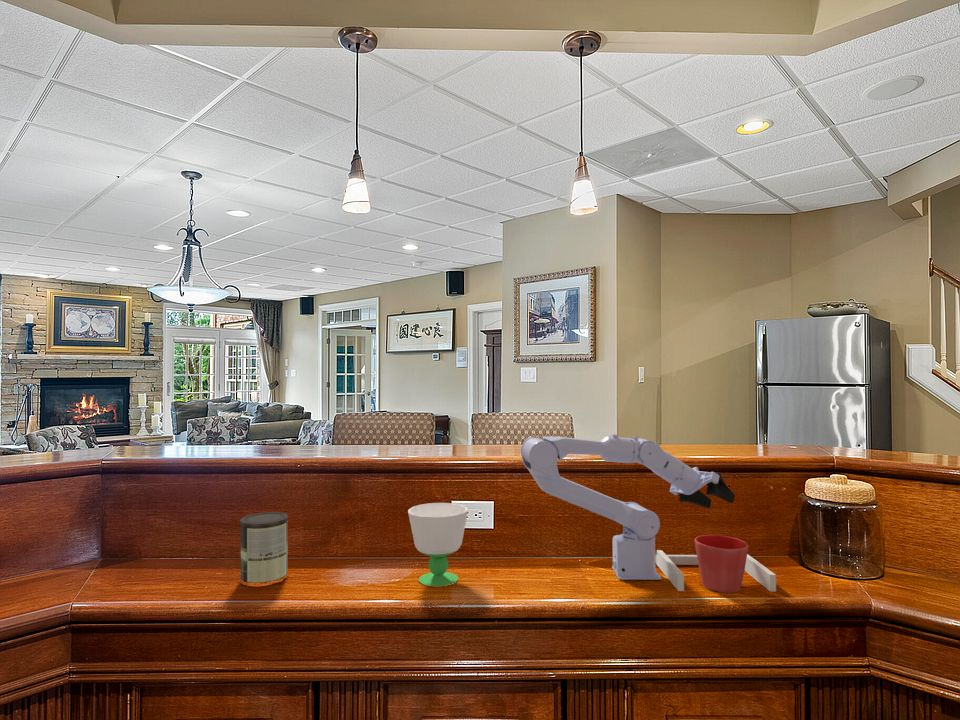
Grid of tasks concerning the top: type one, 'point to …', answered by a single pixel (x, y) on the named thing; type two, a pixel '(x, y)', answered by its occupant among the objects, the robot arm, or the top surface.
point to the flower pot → (721, 562)
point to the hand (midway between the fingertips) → (721, 501)
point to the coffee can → (264, 547)
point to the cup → (438, 537)
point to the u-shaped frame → (677, 577)
